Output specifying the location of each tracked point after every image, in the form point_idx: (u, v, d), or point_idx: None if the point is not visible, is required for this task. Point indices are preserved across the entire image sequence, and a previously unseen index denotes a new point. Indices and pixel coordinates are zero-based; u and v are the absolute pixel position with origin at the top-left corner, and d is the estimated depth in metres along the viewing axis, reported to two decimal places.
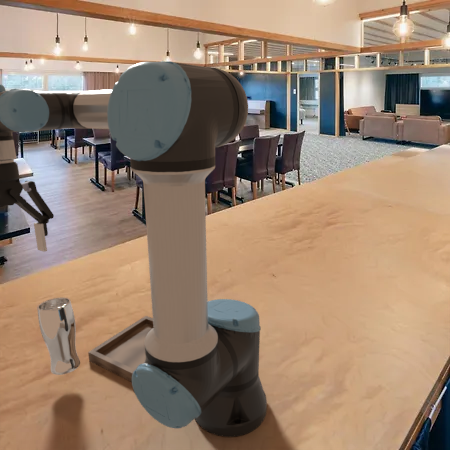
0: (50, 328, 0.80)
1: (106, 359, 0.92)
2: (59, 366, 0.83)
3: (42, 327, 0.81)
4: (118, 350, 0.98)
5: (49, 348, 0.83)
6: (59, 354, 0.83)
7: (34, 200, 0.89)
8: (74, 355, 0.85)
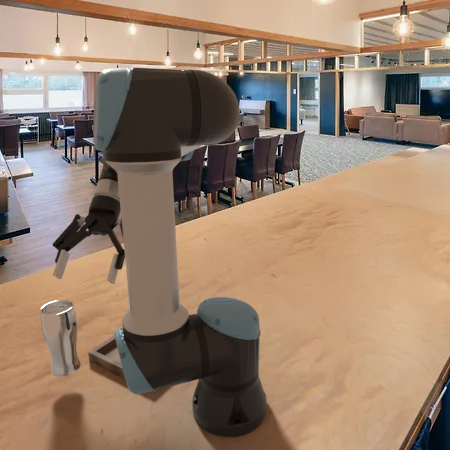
0: (52, 333, 0.80)
1: (106, 359, 0.92)
2: (60, 368, 0.83)
3: (44, 331, 0.80)
4: None
5: (50, 351, 0.82)
6: (60, 357, 0.82)
7: None
8: (74, 357, 0.85)
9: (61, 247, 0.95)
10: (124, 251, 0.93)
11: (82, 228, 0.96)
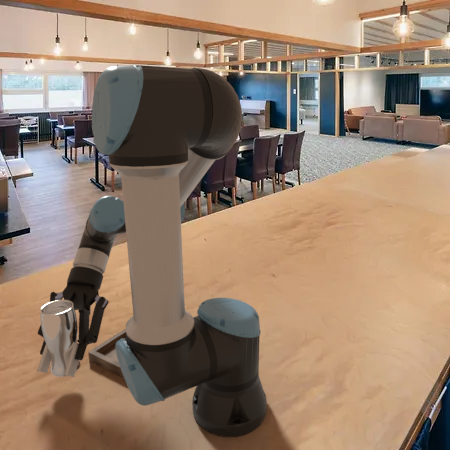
0: (53, 333, 0.80)
1: (106, 359, 0.92)
2: (60, 368, 0.83)
3: (44, 331, 0.80)
4: None
5: (50, 351, 0.82)
6: (60, 357, 0.82)
7: None
8: None
9: None
10: (85, 341, 0.84)
11: None
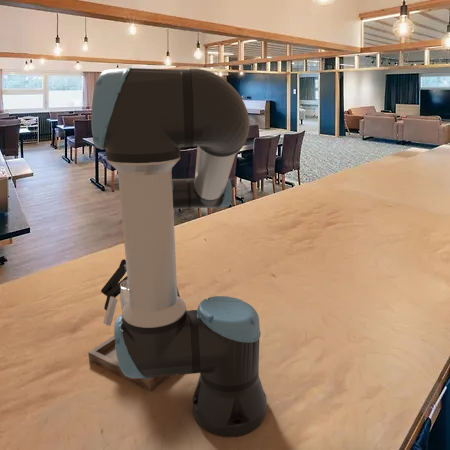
0: None
1: (106, 359, 0.92)
2: None
3: (125, 304, 0.91)
4: None
5: None
6: None
7: None
8: None
9: (110, 294, 0.97)
10: None
11: None
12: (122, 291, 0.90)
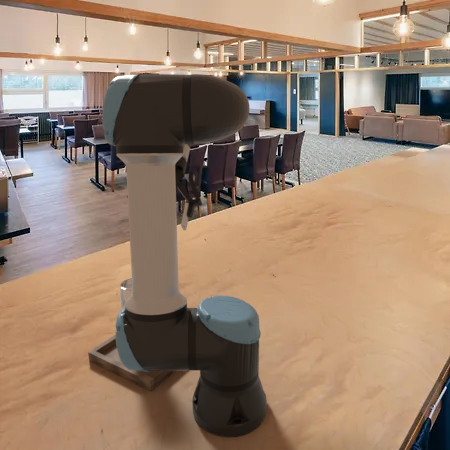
0: None
1: (106, 359, 0.92)
2: None
3: None
4: None
5: None
6: None
7: None
8: None
9: None
10: (194, 201, 1.02)
11: None
12: (122, 291, 0.90)
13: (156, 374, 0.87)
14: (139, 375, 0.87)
